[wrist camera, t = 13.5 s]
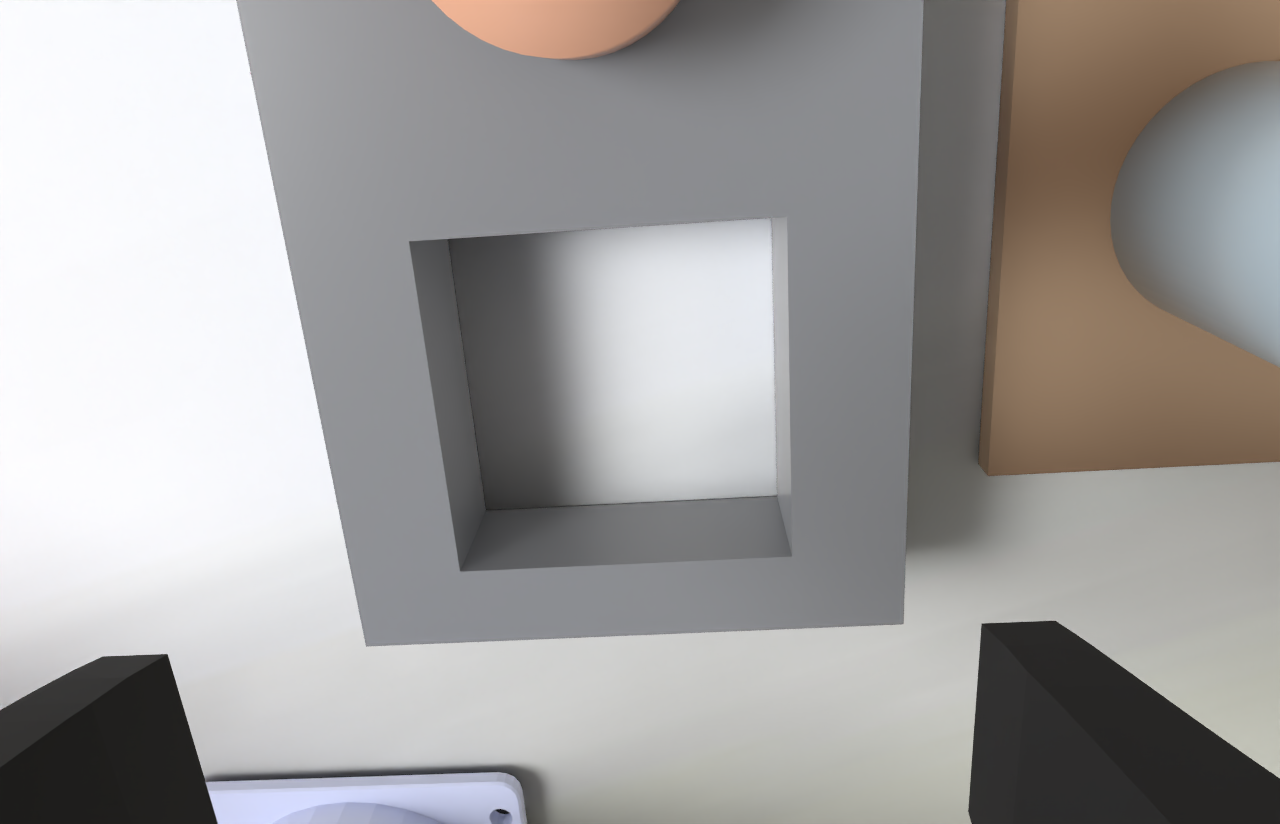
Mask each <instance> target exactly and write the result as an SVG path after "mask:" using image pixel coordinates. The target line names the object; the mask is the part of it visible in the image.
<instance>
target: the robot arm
mask: <svg viewBox="0 0 1280 824" xmlns="http://www.w3.org/2000/svg"><path fill="white" fill-rule="evenodd" d="M497 809H503V810H506V811H508V812H509V813H508V814H501V813H498V812H497V811H495V810H497ZM968 812H969V816H970V819H971V823H972V824H1280V778H1278V777H1277V776H1275V775H1274V774H1272V773H1271V772H1269V771H1268V770H1266V769H1265V768H1264V767H1262V766H1261V765H1259V764H1258V763H1256V762H1255V761H1254V760H1252V759H1251V758H1249V757H1248V756H1246V755H1245V754H1243V753H1242V752H1241V751H1239V750H1238V749H1236V748H1235V747H1233V746H1232V745H1230V744H1229V743H1228V742H1226V741H1225V740H1223V739H1222V738H1221V737H1219V736H1218V735H1216V734H1215V733H1214V732H1212V731H1211V730H1209V729H1208V728H1206V727H1205V726H1204V725H1202V724H1201V723H1199V722H1198V721H1197V720H1195V719H1194V718H1192V717H1191V716H1190V715H1188V714H1187V713H1185V712H1184V711H1183V710H1181V709H1180V708H1178V707H1177V706H1176V705H1174V704H1173V703H1171V702H1170V701H1169V700H1167V699H1166V698H1165V697H1163V696H1162V695H1160V694H1159V693H1158V692H1156V691H1155V690H1153V689H1152V688H1151V687H1149V686H1148V685H1146V684H1145V683H1144V682H1142V681H1141V680H1139V679H1138V678H1137V677H1135V676H1134V675H1133V674H1131V673H1130V672H1128V671H1127V670H1126V669H1124V668H1123V667H1121V666H1120V665H1119V664H1117V663H1116V662H1114V661H1113V660H1112V659H1110V658H1109V657H1107V656H1106V655H1105V654H1103V653H1102V652H1100V651H1099V650H1098V649H1096V648H1095V647H1093V646H1092V645H1091V644H1089V643H1088V642H1086V641H1085V640H1083V639H1082V638H1080V637H1079V636H1077V635H1076V634H1075V633H1073V632H1072V631H1070V630H1068V629H1067V628H1065V627H1064V626H1062V625H1061V624H1059V623H1058V622H1056V621H1038V622H1012V623H985V624H982V628H981V642H980V656H979V670H978V684H977V698H976V712H975V726H974V740H973V754H972V768H971V782H970V796H969V810H968ZM0 824H527V818H526V811H525V804H524V797H523V790H522V787H521V784H520V782H519V781H518V780H517V779H516V778H515V777H514V776H511V775H509V774H507V773H501V772H489V773H459V774H429V775H399V776H369V777H339V778H309V779H279V780H250V781H220V782H205V779H204V775H203V772H202V769H201V765H200V762H199V759H198V755H197V752H196V749H195V745H194V742H193V738H192V735H191V732H190V728H189V725H188V722H187V718H186V715H185V712H184V708H183V705H182V702H181V698H180V695H179V691H178V688H177V685H176V681H175V678H174V675H173V671H172V668H171V665H170V661H169V658H168V655H167V654H161V655H134V656H107V657H101V658H99V659H97V660H95V661H93V662H90V663H88V664H86V665H84V666H82V667H80V668H78V669H76V670H73V671H72V672H70V673H68V674H66V675H64V676H62V677H60V678H58V679H56V680H54V681H52V682H50V683H49V684H47V685H45V686H43V687H41V688H39V689H37V690H36V691H34V692H32V693H30V694H28V695H27V696H25V697H23V698H21V699H19V700H18V701H16V702H14V703H12V704H11V705H9V706H7V707H5V708H4V709H2V710H0Z"/></svg>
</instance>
